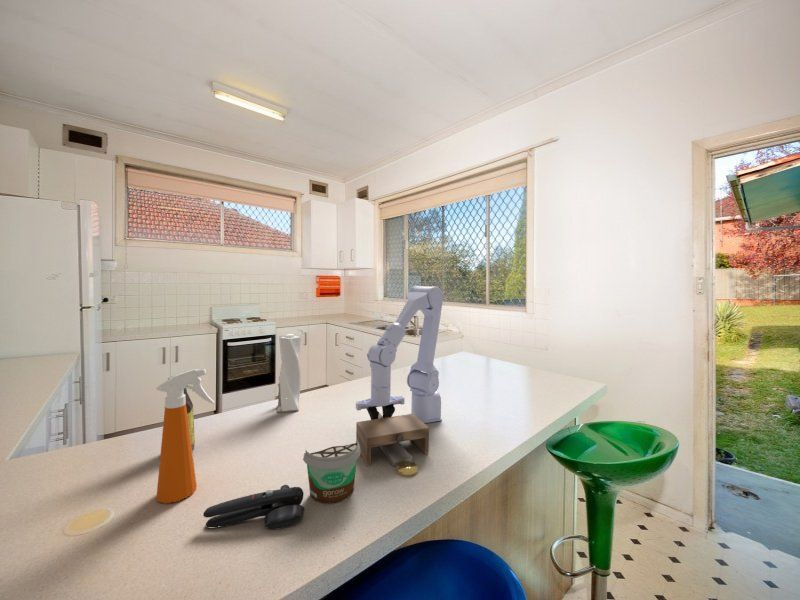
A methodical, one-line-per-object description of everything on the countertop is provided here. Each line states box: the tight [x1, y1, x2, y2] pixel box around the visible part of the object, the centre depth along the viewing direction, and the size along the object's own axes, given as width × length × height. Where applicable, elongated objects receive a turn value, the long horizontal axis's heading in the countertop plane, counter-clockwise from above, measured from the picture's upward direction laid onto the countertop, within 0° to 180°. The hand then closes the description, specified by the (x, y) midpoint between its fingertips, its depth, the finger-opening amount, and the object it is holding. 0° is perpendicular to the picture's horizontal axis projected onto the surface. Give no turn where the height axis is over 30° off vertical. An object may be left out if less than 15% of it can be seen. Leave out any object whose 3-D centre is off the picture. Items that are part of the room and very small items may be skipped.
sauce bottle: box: [167, 375, 196, 451], centre depth 87 cm, size 7×6×20 cm
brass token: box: [396, 461, 419, 477], centre depth 80 cm, size 5×5×1 cm
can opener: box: [202, 484, 305, 530], centre depth 63 cm, size 18×7×6 cm, turn 101°
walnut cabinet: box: [355, 413, 430, 467], centre depth 89 cm, size 17×11×7 cm, turn 113°
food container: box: [302, 439, 361, 505], centre depth 70 cm, size 12×6×10 cm, turn 117°
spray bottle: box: [156, 368, 215, 504], centre depth 70 cm, size 7×11×26 cm, turn 107°
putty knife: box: [378, 412, 413, 467], centre depth 93 cm, size 5×22×5 cm, turn 23°
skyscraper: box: [276, 329, 303, 414], centre depth 117 cm, size 8×8×28 cm
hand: (380, 430), depth 99 cm, fingers closed on putty knife, 2 cm apart
